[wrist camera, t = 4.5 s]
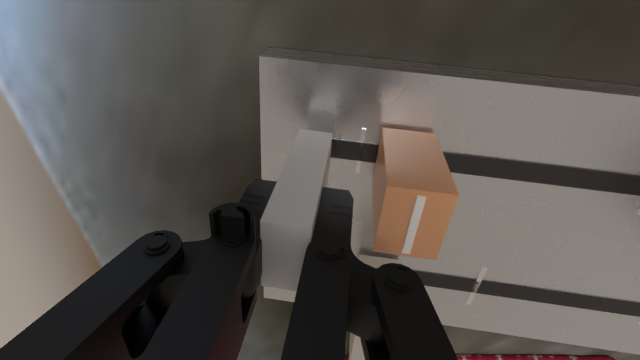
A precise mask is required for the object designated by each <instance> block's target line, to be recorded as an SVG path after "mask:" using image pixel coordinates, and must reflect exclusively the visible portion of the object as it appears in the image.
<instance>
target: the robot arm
mask: <svg viewBox="0 0 640 360" xmlns="http://www.w3.org/2000/svg"><path fill="white" fill-rule="evenodd" d="M332 137H333V133H327V132H319V131H311V130H303V129H299V132H298V134H297V136H296V139H295V141H294V143H293V146H292V148H291V150H290V153H289V155H288V157H287V160H286V162H285V164H284V166H283V169H282V171H281V173H280V176H279V178H278V180H277V181H269V180H262V179H257V180H255V181H254V182H253V183H251V184H250V185H248V187H247V189H246V191H245V192H244V195H243V196H242V198H241V200H240V202H239V203H227V204H223V205H220V206H218V207H216V208H214V209H213V210H212V211H211V212H210V213H209V218H210V227H211V237H210V238H209V239H206V240H201V241H193V242H182V240H181V238H180V236H179V235H177V234H176V233H174V232H171V231H165V230H164V231H155V232H152V233H148V234H146V235H144V236H142V237H141V238H139V239H138V240H136V241H135V242H134V243H133V244H131V245H130V246H129V247H128V248H126V249H125V250H124V251H123V252H121V253H120V254H119V255H118V256H116V257H115V258H114V259H112V260H111V261H110V262H109V263H107V264H106V265H105V266H104V267H102V268H101V269H100V270H99V271H97V272H96V273H95V274H94V275H92V276H91V277H90V278H89V279H87V280H86V281H85V282H84V283H82V284H81V285H80V286H79V287H77V288H76V289H75V290H74V291H72V292H71V293H70V294H69V295H67V296H66V297H65V298H64V299H62V300H61V301H60V302H59V303H57V304H56V305H55V306H53V307H52V308H51V309H50V310H48V311H47V312H46V313H45V314H43V315H42V316H41V317H40V318H38V319H37V320H36V321H35V322H33V323H32V324H31V325H30V326H29V327H27V328H26V329H25V330H24V331H22V332H21V333H20V334H19V335H17V336H16V337H15V338H13V339H12V340H11V341H9V342H8V343H7V344H6V345H4V346H3V347H2V348H1V349H0V360H237V357H238V354H239V351H240V348H241V345H242V342H243V339H244V336H245V333H246V330H247V327H248V324H249V321H250V318H251V315H252V313H253V310H254V307H255V304H256V301H257V286H258V283H259V280H260V278H261V286H265V287H272V288H278V289H285V290H291V291H297V292H296V296H295V300H294V305H293V309H292V313H291V318H290V322H289V327H288V331H287V335H286V340H285V344H284V348H283V353H282V357H281V360H344V352H345V338H346V331H348V332H350V333H352V334H354V335H356V336H358V337H360V338H361V344H362V349H363V353H364V357H365V360H458V359H457V356H456V354H455V352H454V350H453V348H452V345H451V343H450V341H449V339H448V337H447V335H446V332H445V330H444V328H443V326H442V324H441V321H440V319H439V317H438V315H437V313H436V311H435V308H434V306H433V304H432V302H431V300H430V297H429V295H428V293H427V291H426V289H425V287H424V284H423V282H422V280H421V279H420V277H419V276H418V274H417V273H416V272H415V271H413V270H412V269H411V268H409V267H407V266H405V265H402V264H398V263H387V264H383V265H381V266H380V267H378V268H374V267H372V266H369V265H367V264H365V263H363V262H362V261H360V260H359V259H358V258H357V257H356V256H355V255H354V253H353V251H352V249H351V231H352V216H353V203H354V198H353V197H352V195H351V193H350V191H349V190H343V189H335V188H328V187H327V183H328V174H329V165H330V155H331V146H332Z"/></svg>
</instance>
